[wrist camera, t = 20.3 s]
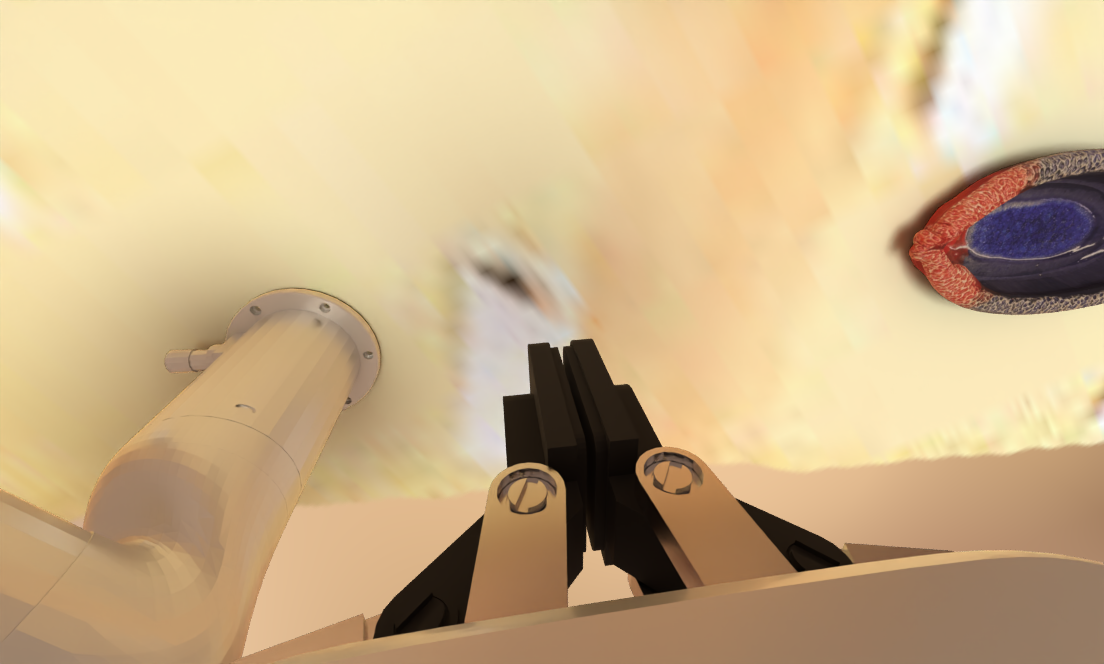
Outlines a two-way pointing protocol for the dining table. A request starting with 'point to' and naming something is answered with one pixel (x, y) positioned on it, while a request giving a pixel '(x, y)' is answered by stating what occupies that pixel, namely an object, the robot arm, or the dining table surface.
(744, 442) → the dining table surface
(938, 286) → the dish
